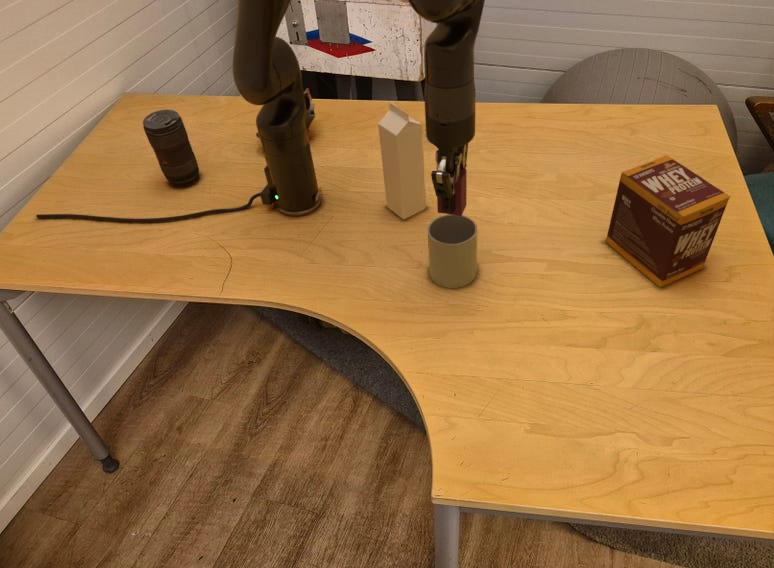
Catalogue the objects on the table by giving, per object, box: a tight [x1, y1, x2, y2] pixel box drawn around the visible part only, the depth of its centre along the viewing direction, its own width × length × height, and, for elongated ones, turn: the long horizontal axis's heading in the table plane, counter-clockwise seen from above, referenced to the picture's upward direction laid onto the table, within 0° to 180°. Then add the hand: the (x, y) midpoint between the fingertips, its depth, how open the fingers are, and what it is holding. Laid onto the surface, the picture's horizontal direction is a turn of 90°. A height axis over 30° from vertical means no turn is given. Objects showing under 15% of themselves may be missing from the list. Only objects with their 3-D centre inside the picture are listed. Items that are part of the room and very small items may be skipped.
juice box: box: [436, 168, 468, 216], centre depth 104 cm, size 4×3×9 cm
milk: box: [377, 102, 427, 221], centre depth 124 cm, size 6×6×22 cm
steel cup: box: [427, 214, 478, 289], centre depth 114 cm, size 9×9×10 cm
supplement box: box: [605, 155, 731, 288], centre depth 112 cm, size 10×15×16 cm
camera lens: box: [142, 109, 200, 189], centre depth 138 cm, size 8×8×15 cm
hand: (451, 204), depth 106 cm, fingers closed on juice box, 3 cm apart
